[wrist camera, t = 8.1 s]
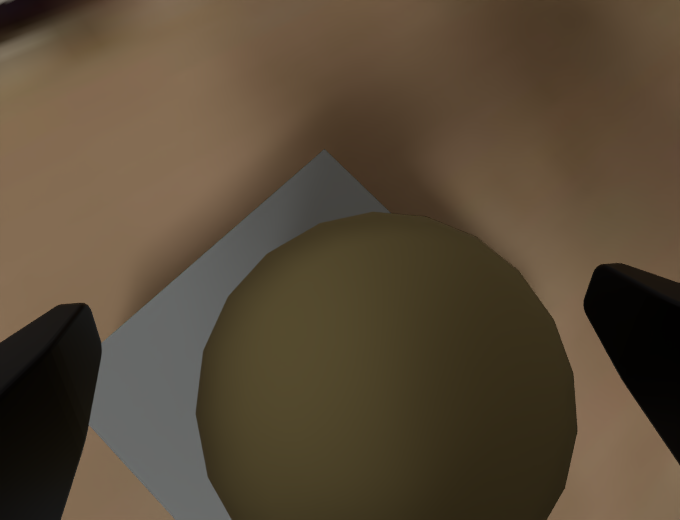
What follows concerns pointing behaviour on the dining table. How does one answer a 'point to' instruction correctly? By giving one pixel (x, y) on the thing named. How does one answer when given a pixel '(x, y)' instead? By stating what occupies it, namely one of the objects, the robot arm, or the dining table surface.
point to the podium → (200, 341)
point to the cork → (386, 381)
